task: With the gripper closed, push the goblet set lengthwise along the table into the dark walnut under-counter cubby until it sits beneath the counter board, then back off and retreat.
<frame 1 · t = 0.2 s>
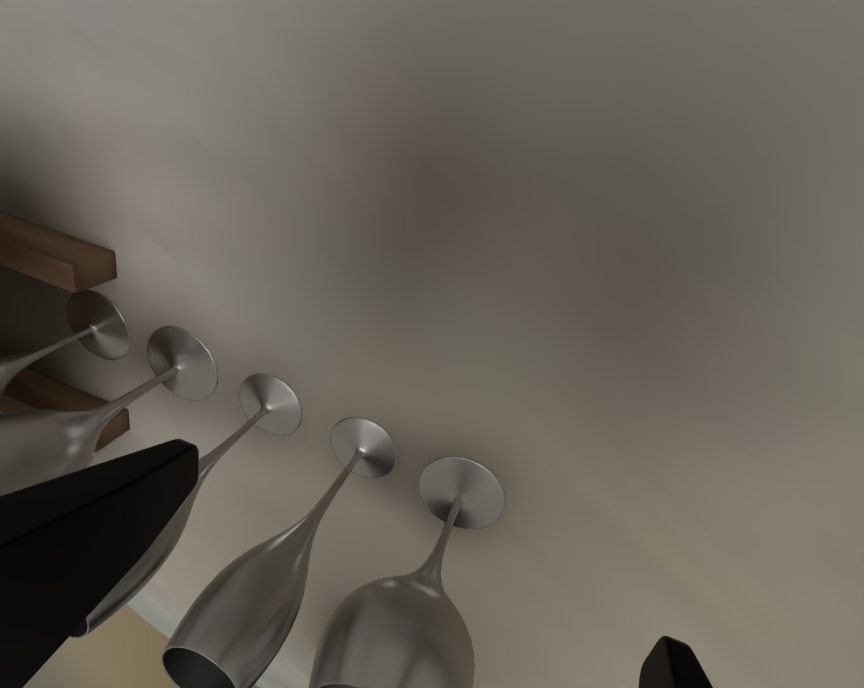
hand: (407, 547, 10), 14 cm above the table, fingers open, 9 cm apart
goblet set: (277, 404, 29), on the table
walnut cubby: (122, 348, 31), on the table
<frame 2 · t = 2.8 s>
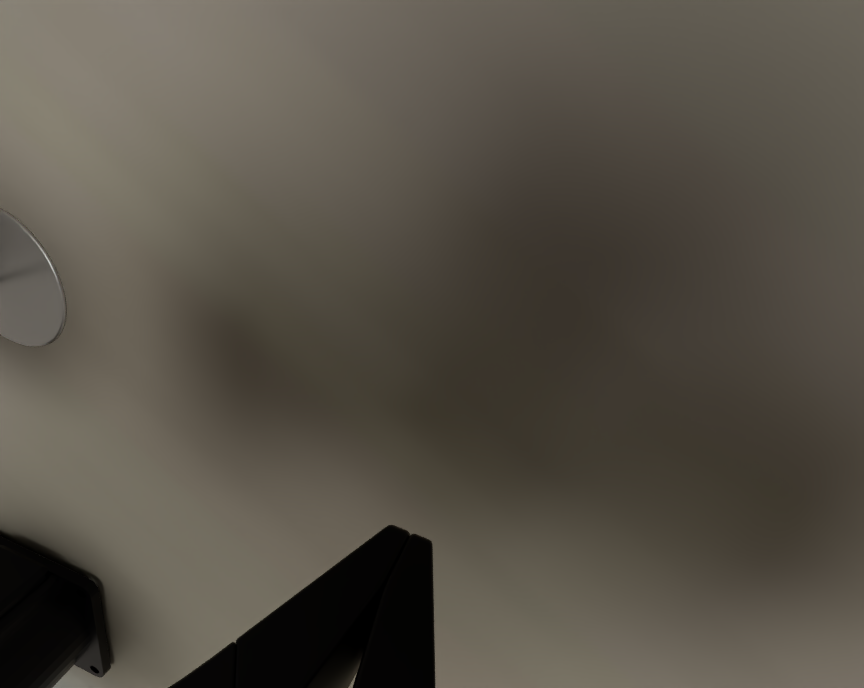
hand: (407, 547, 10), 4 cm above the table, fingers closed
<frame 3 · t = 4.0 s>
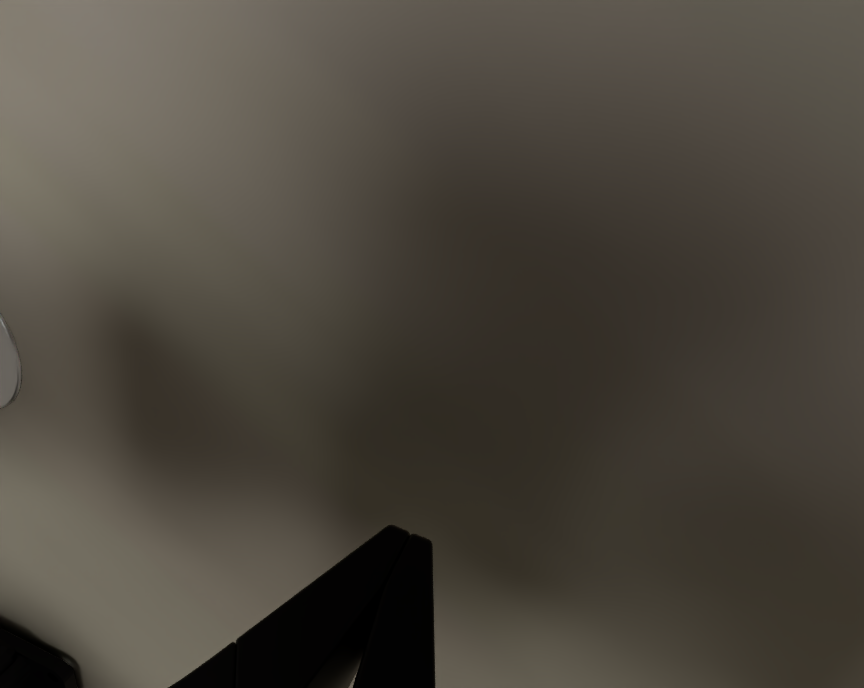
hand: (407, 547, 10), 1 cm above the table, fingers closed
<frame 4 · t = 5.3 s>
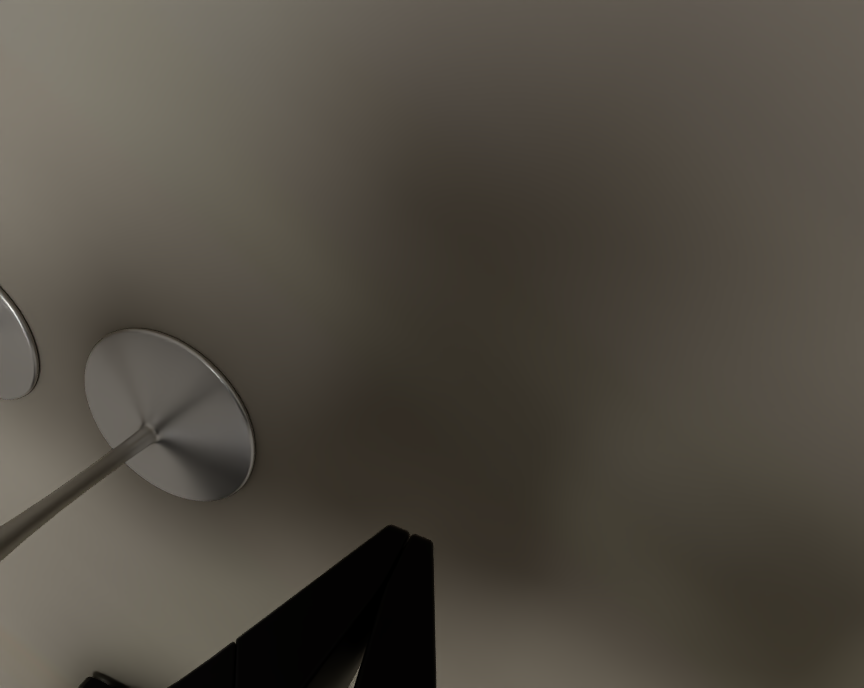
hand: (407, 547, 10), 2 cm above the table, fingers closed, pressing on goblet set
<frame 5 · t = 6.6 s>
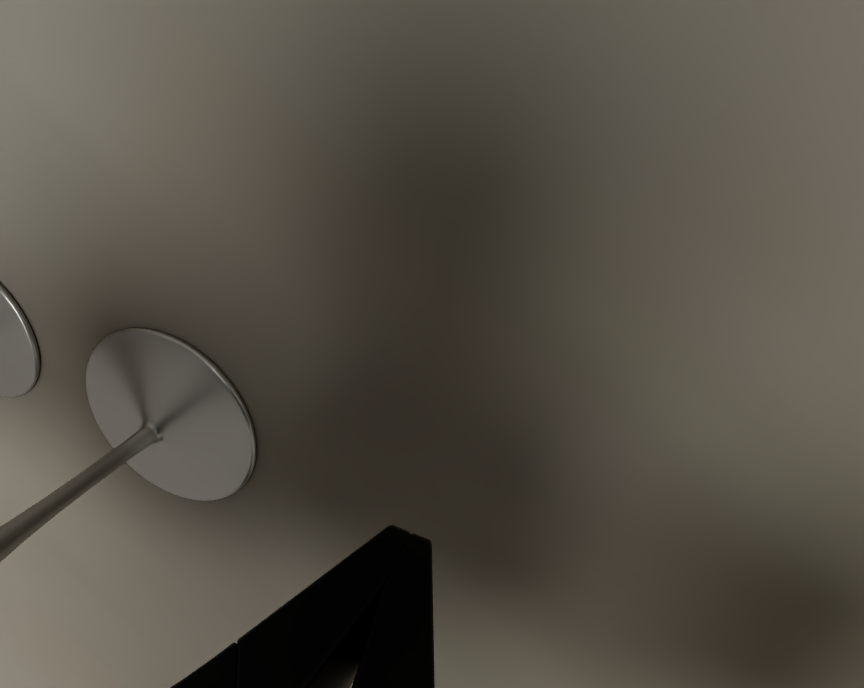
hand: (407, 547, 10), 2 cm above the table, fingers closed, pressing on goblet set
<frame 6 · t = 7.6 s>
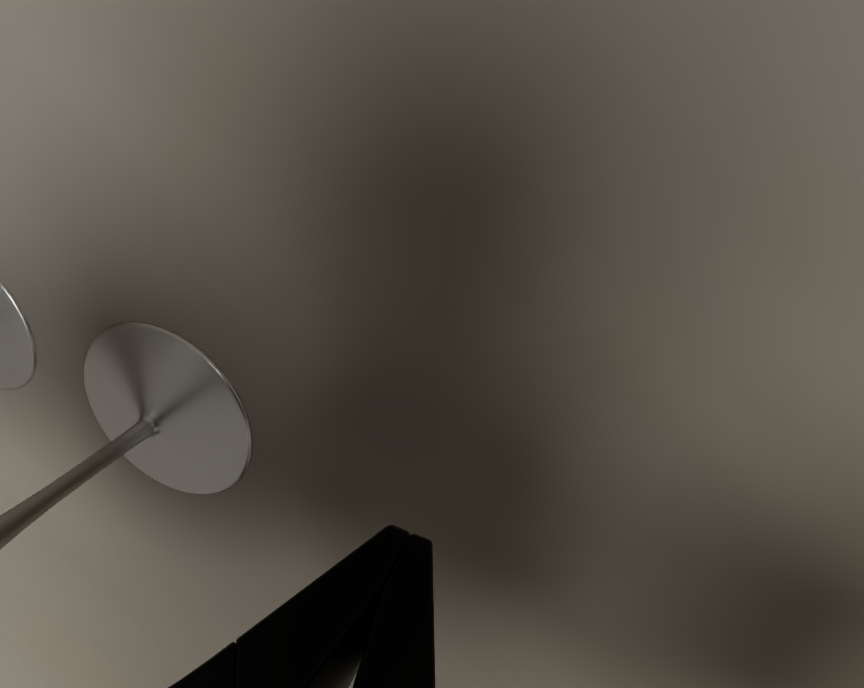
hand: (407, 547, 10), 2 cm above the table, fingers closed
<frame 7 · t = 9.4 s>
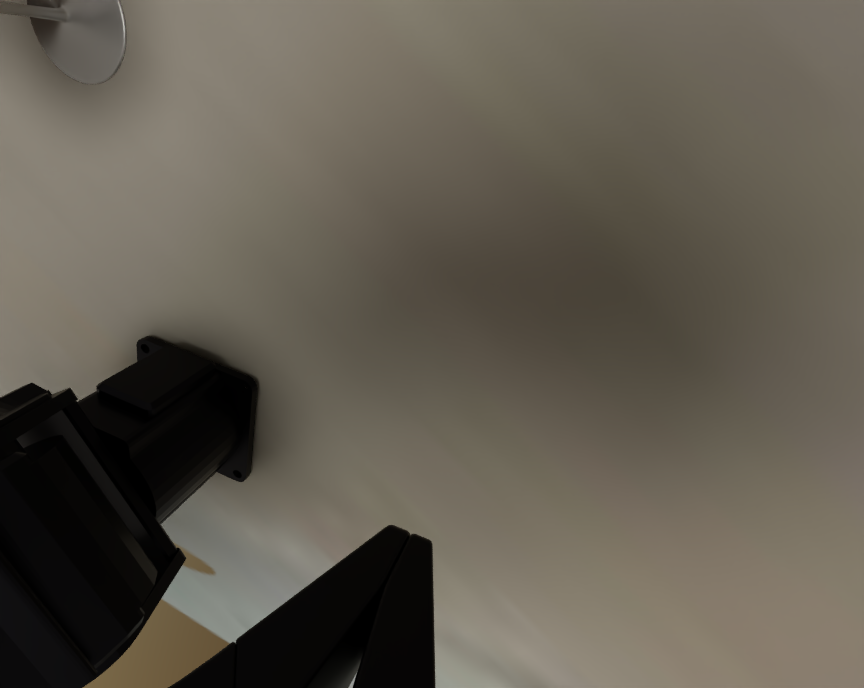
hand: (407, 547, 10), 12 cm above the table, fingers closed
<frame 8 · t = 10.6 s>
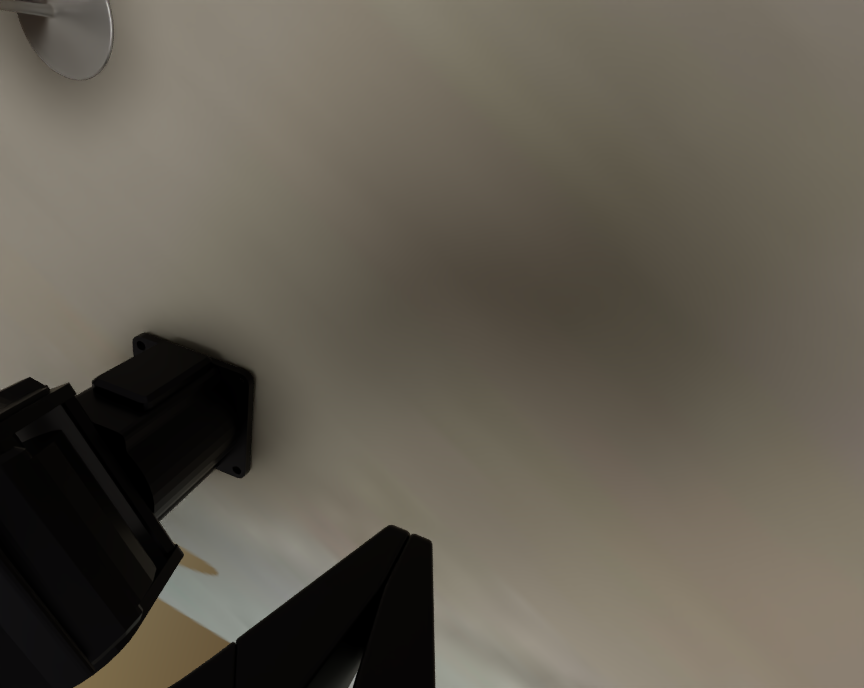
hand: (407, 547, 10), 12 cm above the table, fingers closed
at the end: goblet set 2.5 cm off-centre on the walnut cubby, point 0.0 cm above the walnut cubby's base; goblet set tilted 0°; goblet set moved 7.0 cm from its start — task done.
